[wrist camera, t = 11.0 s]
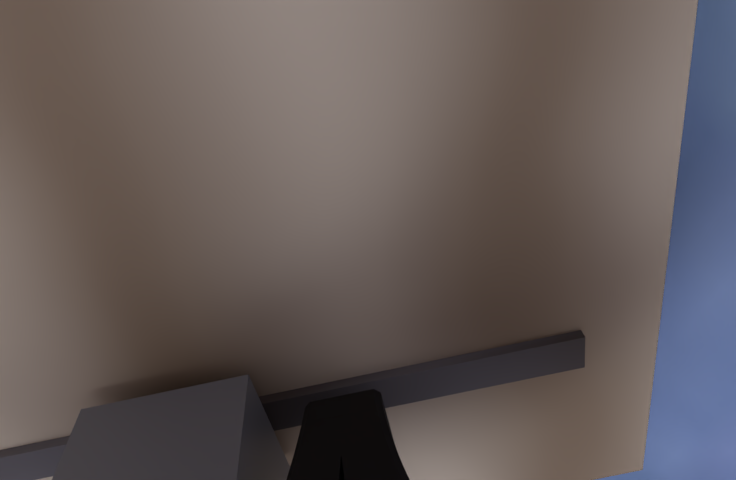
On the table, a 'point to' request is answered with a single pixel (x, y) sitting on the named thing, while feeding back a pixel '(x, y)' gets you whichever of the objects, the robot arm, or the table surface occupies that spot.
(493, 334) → the console
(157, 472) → the fader
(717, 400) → the table surface
